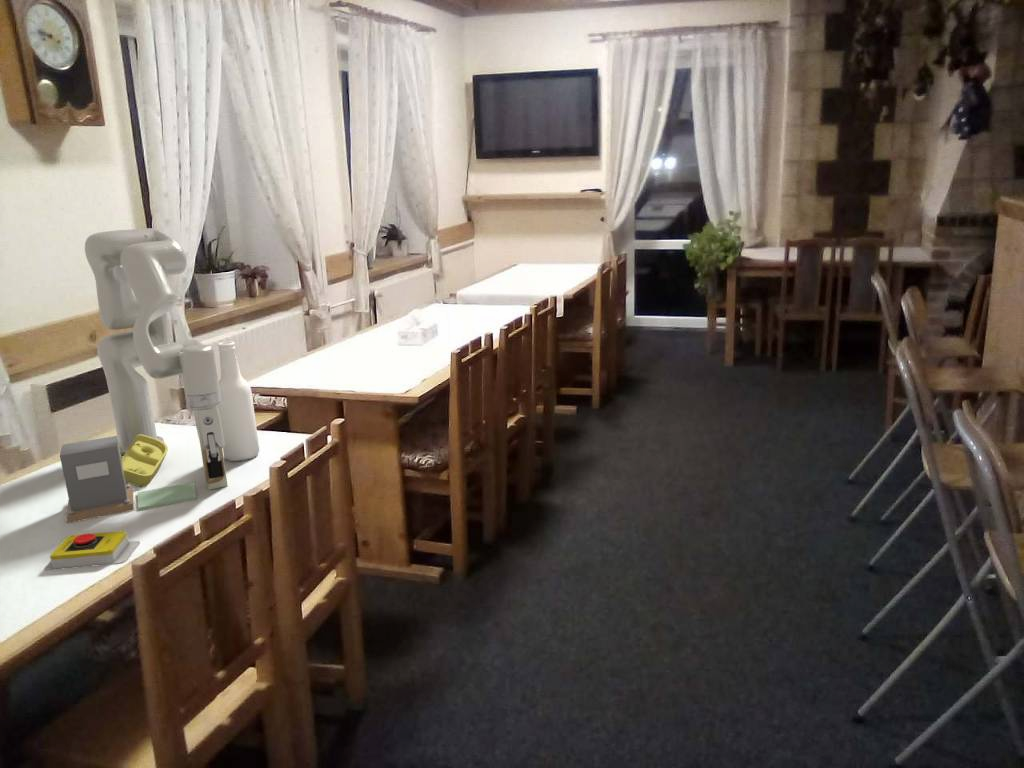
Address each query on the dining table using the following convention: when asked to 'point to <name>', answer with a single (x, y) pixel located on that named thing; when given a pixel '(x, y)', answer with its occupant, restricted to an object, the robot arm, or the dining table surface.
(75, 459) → the mounted unit
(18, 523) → the dining table surface
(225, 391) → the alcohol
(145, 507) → the mat
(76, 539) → the emergency button
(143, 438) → the plastic component
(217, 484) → the skincare box
